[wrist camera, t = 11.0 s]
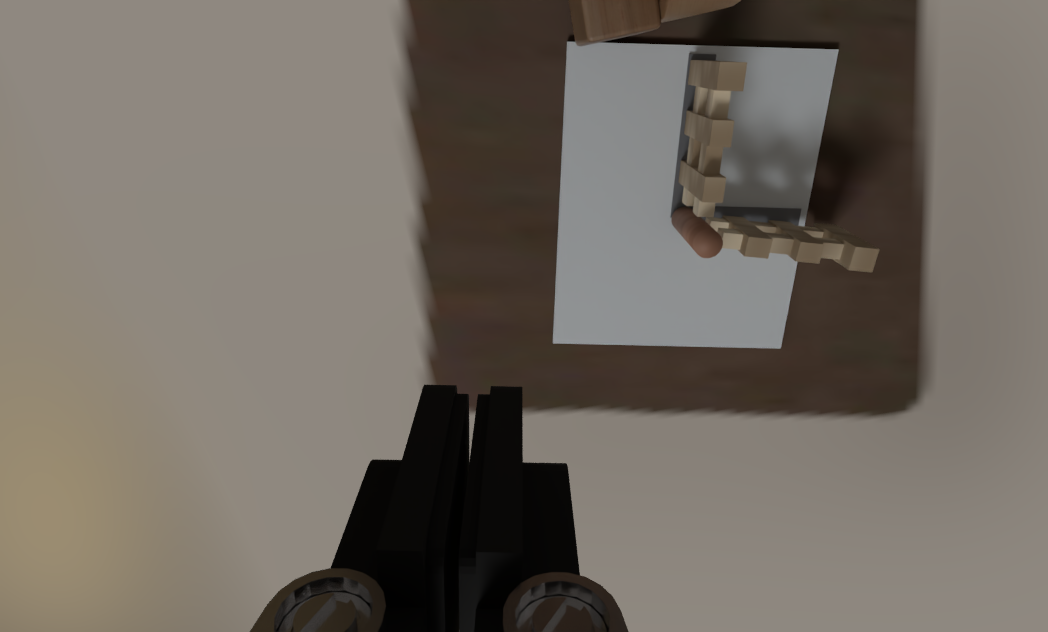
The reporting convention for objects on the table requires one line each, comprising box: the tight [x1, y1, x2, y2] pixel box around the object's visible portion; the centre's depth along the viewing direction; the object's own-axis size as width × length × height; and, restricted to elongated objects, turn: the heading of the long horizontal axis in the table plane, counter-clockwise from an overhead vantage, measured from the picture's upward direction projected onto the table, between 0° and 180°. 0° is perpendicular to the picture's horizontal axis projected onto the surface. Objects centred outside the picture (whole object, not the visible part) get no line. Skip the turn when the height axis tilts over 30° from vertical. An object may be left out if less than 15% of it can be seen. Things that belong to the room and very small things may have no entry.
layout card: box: [553, 42, 839, 348], centre depth 37 cm, size 17×14×1 cm
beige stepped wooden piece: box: [671, 207, 879, 272], centre depth 34 cm, size 9×1×5 cm, turn 84°
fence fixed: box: [678, 60, 747, 217], centre depth 33 cm, size 7×1×6 cm, turn 178°
